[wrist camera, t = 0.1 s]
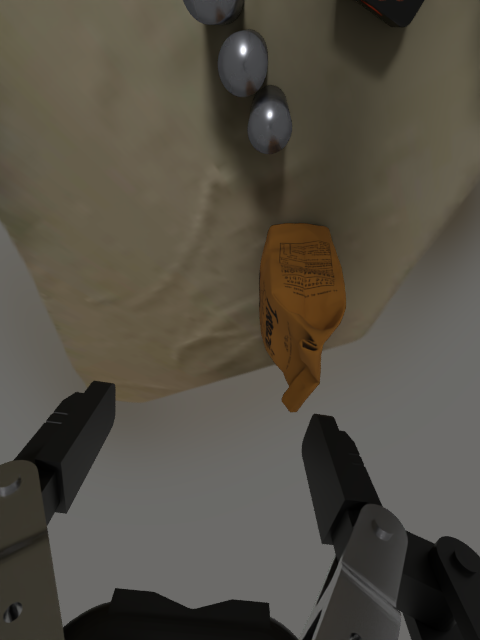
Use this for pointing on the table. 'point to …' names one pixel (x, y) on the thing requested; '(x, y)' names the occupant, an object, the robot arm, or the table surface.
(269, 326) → the coffee package
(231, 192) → the table surface
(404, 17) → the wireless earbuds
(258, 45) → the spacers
